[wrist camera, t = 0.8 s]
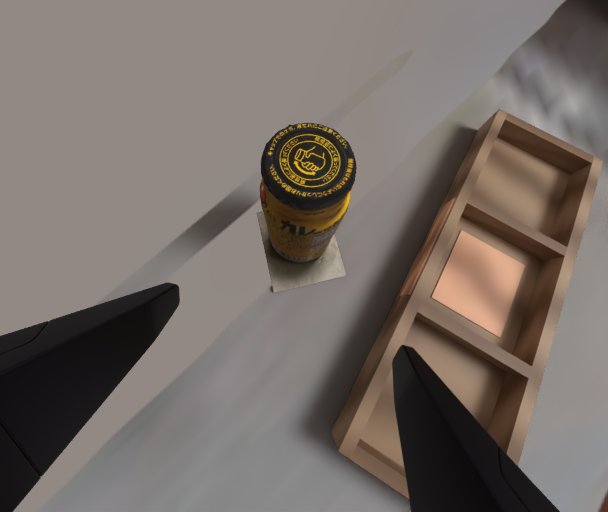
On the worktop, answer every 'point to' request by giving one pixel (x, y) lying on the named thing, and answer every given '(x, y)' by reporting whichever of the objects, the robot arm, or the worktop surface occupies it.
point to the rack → (481, 292)
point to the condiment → (304, 203)
